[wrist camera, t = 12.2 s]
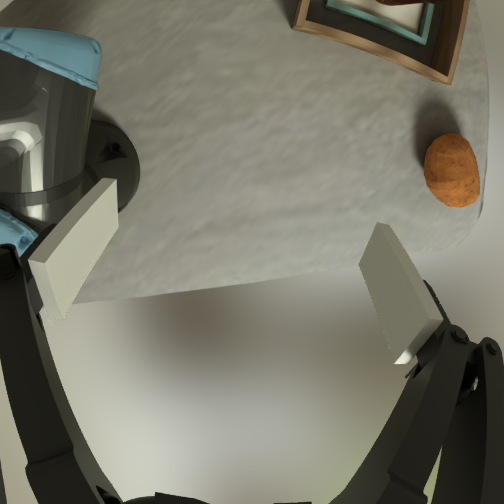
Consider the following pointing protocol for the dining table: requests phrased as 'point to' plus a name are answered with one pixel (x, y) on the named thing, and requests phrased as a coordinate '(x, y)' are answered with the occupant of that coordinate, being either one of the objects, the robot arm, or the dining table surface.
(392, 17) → the crate
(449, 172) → the potato
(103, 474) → the robot arm
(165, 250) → the dining table surface
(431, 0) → the coffee cup
